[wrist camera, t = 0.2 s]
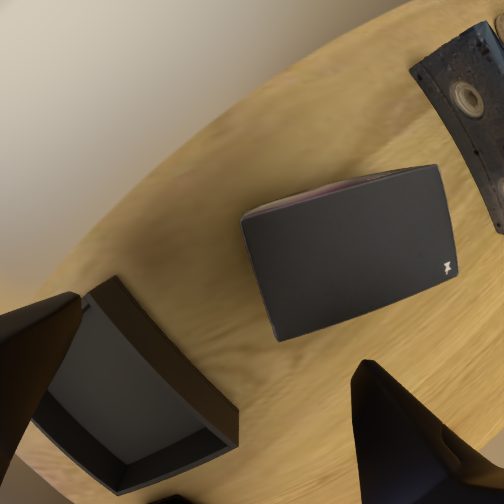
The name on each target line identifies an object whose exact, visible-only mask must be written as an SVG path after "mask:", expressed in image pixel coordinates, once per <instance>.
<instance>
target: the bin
mask: <svg viewBox="0 0 504 504" xmlns="http://www.w3.org/2000/svg"><path fill="white" fill-rule="evenodd" d="M81 302H82V322H81V324H80V326H79V328H78V330H77V333H76V335H75V337H74V339H73V341H72V343H71V346H70V348H69V350H68V352H67V354H66V356H65V359H64V360H63V362H62V364H61V366H60V368H59V369H58V371H57V373H56V374H55V376H54V378H53V380H52V381H51V383H50V385H49V387H48V389H47V390H46V392H45V394H44V396H43V398H42V399H41V401H40V403H39V405H38V407H37V409H36V411H35V413H34V414H33V416H32V418H31V421H32V422H33V423H34V424H35V425H36V426H37V428H38V429H39V430H40V431H41V432H42V433H43V434H44V435H45V436H46V437H47V438H48V439H49V440H50V441H51V442H53V443H54V444H55V445H56V446H57V447H58V448H59V449H60V450H61V451H62V452H63V453H64V454H65V455H66V456H68V457H69V458H70V459H71V460H72V461H73V462H74V463H76V464H77V465H78V466H79V467H80V468H81V469H83V470H84V471H85V472H86V473H88V474H89V475H90V476H91V477H93V478H94V479H95V480H96V481H98V482H99V483H100V484H102V485H103V486H104V487H106V488H107V489H108V490H110V491H111V492H112V493H114V494H115V495H116V496H120V495H123V494H126V493H130V492H133V491H136V490H138V489H141V488H144V487H147V486H150V485H153V484H155V483H158V482H161V481H163V480H166V479H168V478H171V477H173V476H176V475H178V474H181V473H183V472H186V471H188V470H190V469H193V468H195V467H197V466H199V465H202V464H204V463H206V462H208V461H210V460H213V459H215V458H217V457H219V456H221V455H223V454H225V453H227V452H229V451H231V450H233V449H235V448H237V447H238V446H239V410H238V409H237V408H236V407H235V406H234V405H233V404H232V403H230V402H229V401H228V400H227V399H226V398H225V397H224V396H223V395H222V394H221V393H220V392H219V391H218V390H217V389H216V388H215V387H214V386H213V385H212V384H211V383H210V382H209V381H208V380H207V379H206V378H205V377H204V376H203V375H202V374H201V373H200V372H199V371H198V370H197V369H196V368H195V367H194V366H193V365H192V364H191V363H190V362H189V361H188V359H187V358H186V357H185V356H184V355H183V354H182V353H181V352H180V351H179V350H178V349H177V348H176V347H175V345H174V344H173V343H172V342H171V341H170V340H169V339H168V338H167V337H166V336H165V334H164V333H163V332H162V331H161V330H160V329H159V328H158V326H157V325H156V324H155V323H154V322H153V321H152V320H151V318H150V317H149V316H148V315H147V314H146V313H145V311H144V310H143V309H142V308H141V307H140V305H139V304H138V303H137V302H136V301H135V299H134V298H133V297H132V296H131V294H130V293H129V292H128V291H127V289H126V288H125V287H124V286H123V284H122V283H121V282H120V281H119V279H118V278H117V277H116V276H113V277H112V278H110V279H108V280H107V281H105V282H104V283H102V284H100V285H99V286H97V287H96V288H94V289H92V290H91V291H89V292H88V293H87V294H86V295H85V296H84V297H82V298H81Z"/></svg>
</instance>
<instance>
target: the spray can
mask: <svg viewBox="0 0 504 504" xmlns="http://www.w3.org/2000/svg"><path fill="white" fill-rule="evenodd" d="M495 27H496V29H497V33H498V35H499V37H500V39H501V41H502V43H503V44H504V13H503V14H501V15H500V16H498V18H497V19H496V21H495Z"/></svg>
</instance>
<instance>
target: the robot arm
mask: <svg viewBox="0 0 504 504" xmlns="http://www.w3.org/2000/svg"><path fill="white" fill-rule="evenodd" d="M81 322H82V302H81V296H80V295H79V294H76V293H73V292H70V291H69V292H65V293H62V294H59V295H57V296H54V297H51V298H48V299H45V300H42V301H39V302H36V303H33V304H31V305H28V306H25V307H22V308H19V309H16V310H14V311H11V312H8V313H5V314H3V315H0V486H1V483H2V481H3V478H4V476H5V474H6V471H7V469H8V467H9V465H10V461H11V459H12V457H13V455H14V453H15V451H16V449H17V447H18V445H19V442H20V440H21V438H22V436H23V434H24V432H25V430H26V428H27V426H28V424H29V422H30V420H31V418H32V416H33V414H34V413H35V411H36V409H37V407H38V405H39V403H40V401H41V399H42V398H43V396H44V394H45V392H46V390H47V389H48V387H49V385H50V383H51V381H52V380H53V378H54V376H55V374H56V373H57V371H58V369H59V368H60V366H61V364H62V362H63V360H64V359H65V356H66V354H67V352H68V350H69V348H70V346H71V343H72V341H73V339H74V337H75V335H76V333H77V330H78V328H79V326H80V324H81ZM351 407H352V425H353V433H354V440H355V447H356V455H357V463H358V471H359V480H360V490H361V500H362V504H504V469H503V468H500V467H498V466H496V465H494V464H493V463H491V462H490V461H489V460H487V459H486V458H485V457H483V456H482V455H481V454H480V453H478V452H477V451H476V450H474V449H473V448H472V447H471V446H469V445H468V444H467V443H466V442H464V441H463V440H462V439H461V438H459V437H458V436H457V435H456V434H455V433H454V432H453V431H451V430H450V429H449V428H448V427H447V426H446V425H445V424H443V423H442V421H440V420H439V419H438V418H437V417H436V416H435V415H434V414H433V413H432V412H431V411H430V410H428V409H427V408H426V407H425V406H424V405H423V404H422V403H421V402H420V401H419V400H417V399H416V398H415V397H414V396H413V395H412V394H411V393H410V392H409V391H408V390H406V389H405V388H404V387H403V386H402V385H401V384H400V383H399V382H398V381H397V380H396V379H394V378H393V377H392V376H391V375H390V374H389V373H388V372H387V371H386V370H385V369H383V368H382V367H381V366H380V365H379V364H378V363H377V362H376V361H374V360H366V359H365V360H362V361H361V363H360V364H359V366H358V368H357V369H356V371H355V373H354V375H353V376H352V379H351ZM149 504H192V503H190V502H189V501H187V500H186V499H184V498H183V497H181V496H179V495H174V496H171V497H168V498H165V499H162V500H159V501H156V502H153V503H149Z"/></svg>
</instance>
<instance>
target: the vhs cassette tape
mask: <svg viewBox="0 0 504 504" xmlns="http://www.w3.org/2000/svg"><path fill="white" fill-rule="evenodd" d="M410 73H411V74H412V76H413V77H414V78H415V80H416V81H417V83H418V84H419V85H420V87H421V88H422V89H423V90H424V92H425V94H426V95H427V97H428V99H429V100H430V101H431V103H432V105H433V106H434V108H435V109H436V111H437V112H438V114H439V116H440V117H441V119H442V120H443V122H444V124H445V126H446V127H447V129H448V130H449V132H450V134H451V135H452V137H453V139H454V141H455V143H456V145H457V146H458V148H459V149H460V151H461V153H462V155H463V157H464V159H465V161H466V163H467V165H468V167H469V169H470V171H471V173H472V175H473V178H474V180H475V182H476V184H477V186H478V188H479V190H480V192H481V195H482V197H483V199H484V202H485V204H486V206H487V208H488V211H489V213H490V216H491V218H492V221H493V224H494V226H495V228H496V230H497V232H498V233H499V234H503V235H504V46H503V44H502V42H501V41H500V39H499V38H498V37H497V35H496V34H495V32H494V31H493V29H492V28H491V26H490V25H489V24H488V22H487V21H486V20H485V21H484V22H480V23H478V24H476V25H474V26H472V27H470V28H469V29H467V30H466V31H464V32H463V33H461V34H459V36H458V37H455V38H453V39H452V40H451V41H449V42H448V43H445V44H443V45H441V47H439V48H438V49H437V50H436V51H434V52H433V53H431V54H430V55H429V56H426V57H424V59H423V60H421V61H420V62H419V63H417V64H416V65H414V66H413V67H412V68H411V69H410Z"/></svg>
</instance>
